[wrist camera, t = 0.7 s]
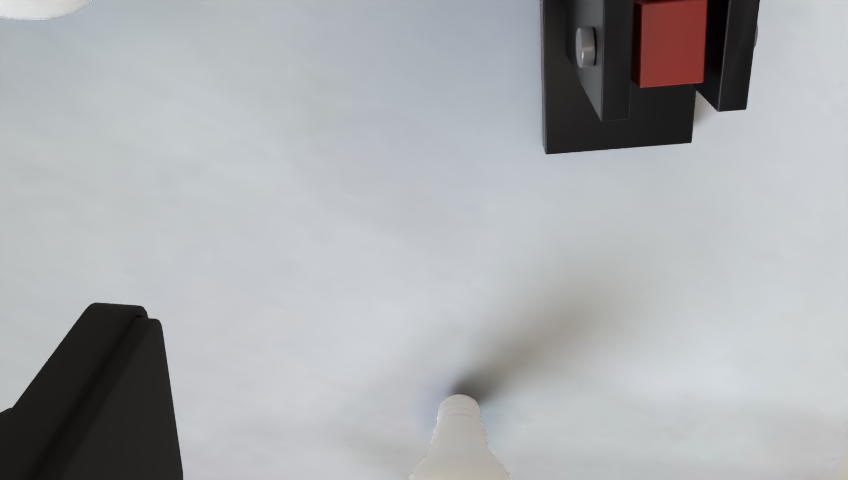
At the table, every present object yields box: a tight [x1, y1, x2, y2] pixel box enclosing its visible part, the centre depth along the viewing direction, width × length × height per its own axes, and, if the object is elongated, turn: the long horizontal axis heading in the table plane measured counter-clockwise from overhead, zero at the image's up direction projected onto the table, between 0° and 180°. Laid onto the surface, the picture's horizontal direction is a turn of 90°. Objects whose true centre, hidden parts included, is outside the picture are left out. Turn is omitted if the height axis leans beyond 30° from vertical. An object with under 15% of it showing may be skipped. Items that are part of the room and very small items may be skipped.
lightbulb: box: [408, 394, 513, 480], centre depth 40 cm, size 6×6×11 cm
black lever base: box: [540, 0, 760, 154], centre depth 28 cm, size 14×7×10 cm, turn 6°
